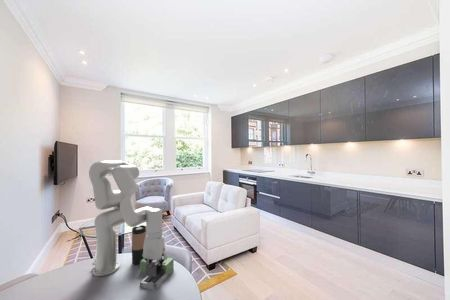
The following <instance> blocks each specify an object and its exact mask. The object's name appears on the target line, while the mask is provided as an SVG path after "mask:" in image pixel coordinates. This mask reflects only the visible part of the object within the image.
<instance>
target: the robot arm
mask: <svg viewBox="0 0 450 300" xmlns="http://www.w3.org/2000/svg"><path fill="white" fill-rule="evenodd" d="M88 175H89V176H88V177H89V179H90V183H91V184H92V191H93V198H94V205H95V207H96V208H97V209H98V210H99V211H102V210H107V209H110V210H107V211H104V212H102V213H101V212H100V213H99V214H98V215H96V217H95V218H94V222H93V223H94V228H95V234H96V242H95V243H96V251H95V254H96V255H95V257H96V258H95V259H94V261H93V262H92V263H91V265H92V266H94V269H93V270H92V275H93V276H94V277H106V276H109V275H111V274H113V273H115V272H116V271H117V270H118V269H120V265H121V264H120V262H118V261H117V252H118V250H117V249H118V248H117V245H118V244H117V243H118V240H117V239H118V236H117V232H116V231H115V229H114V228H115V227H117V226H120V225H122V224H124V223H125V225H127V226H129V227H130V228H131V227H132V228H133V227H138V226H139V225H141V224H143V223H146V224H145V226H146V231H145V234H146V237H145V240H144V246H143V254H142V257H143V258H144V259H145V260H146V263H147V264H149V263H150V262H152V260H157V263H158V265H157V274H159V273H160V272H161V271H162V263H163V262H164V261H165V260H166V259H167V258H169V256H168V255H167V253H166V242H165V238H164V235H163V210H162V209H161V208H159V207H151V206H146V205H145V206H143V207H138V208H136V209H134V208H133V205H132V200H131V199H132V197H133V195H134V194H136V193H137V192H138V191H139V186H138V184H137V182H136V179H137V178H138V177H139V176H140V170H139V167H137V166H136V165H135V164H132V163H130V162H129V163H128V162H126V161H123V160H101V161H100V160H99V161H96V162H93V163H92V164H91V165H90V167H89V170H88ZM106 176H112V178H113V179H114V182H115V183H116V185H117V188H118V189H114V190H112V186H111V185H112V184H111V182H110V181H109V179H108V178H107V177H106ZM112 208H113V209H112ZM162 257H164V258H162Z"/></svg>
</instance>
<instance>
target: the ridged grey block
mask: <svg viewBox="0 0 450 300" xmlns="http://www.w3.org/2000/svg"><path fill="white" fill-rule="evenodd" d="M157 265H158V263H157V260H153V261H152V262H150V263H149V264H148V265H147V266H146V274H145V277H146V276H151V277H152V278H155V277H156V275H157ZM162 269H163V263H162Z"/></svg>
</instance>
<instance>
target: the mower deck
mask: <svg viewBox="0 0 450 300" xmlns="http://www.w3.org/2000/svg"><path fill="white" fill-rule="evenodd" d="M162 258H164V257H163V256H162ZM152 261H153V260H152ZM147 265H148V264H147V263H146V260H145V259H142V260H141V261H140V265H139V273H141V274H145V277H144V278H143V279H142V280H141V281H140V282H139V287H141V288H145V289H148V290H154V291H155V290H157V289H158V287H159V286H161V285H162V283H163V282H164V281H165V280H166V279H167V278H168V276H170V274H171V273H173V271H174V258H173V257H168V258H167V259H166V260H165V261H164V262H163V269H162V271H161V272H160V273H159V274H157V275H156V276H157V277H159V278H158V280H157V281H156V282H155V283H153V282H149V280H151V279H152V278H153V277H151V276H146V266H147ZM156 276H155V277H156Z"/></svg>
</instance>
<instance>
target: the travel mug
mask: <svg viewBox="0 0 450 300" xmlns="http://www.w3.org/2000/svg"><path fill="white" fill-rule="evenodd" d="M145 231H146V225H141V224H140V226H139V225H138V226H134V227H132V229H131V263H132V265H133V266H140V261H141V260H142V259H144V258H143V257H142V254H143V246H144V240H145V237H146V234H145Z"/></svg>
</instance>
